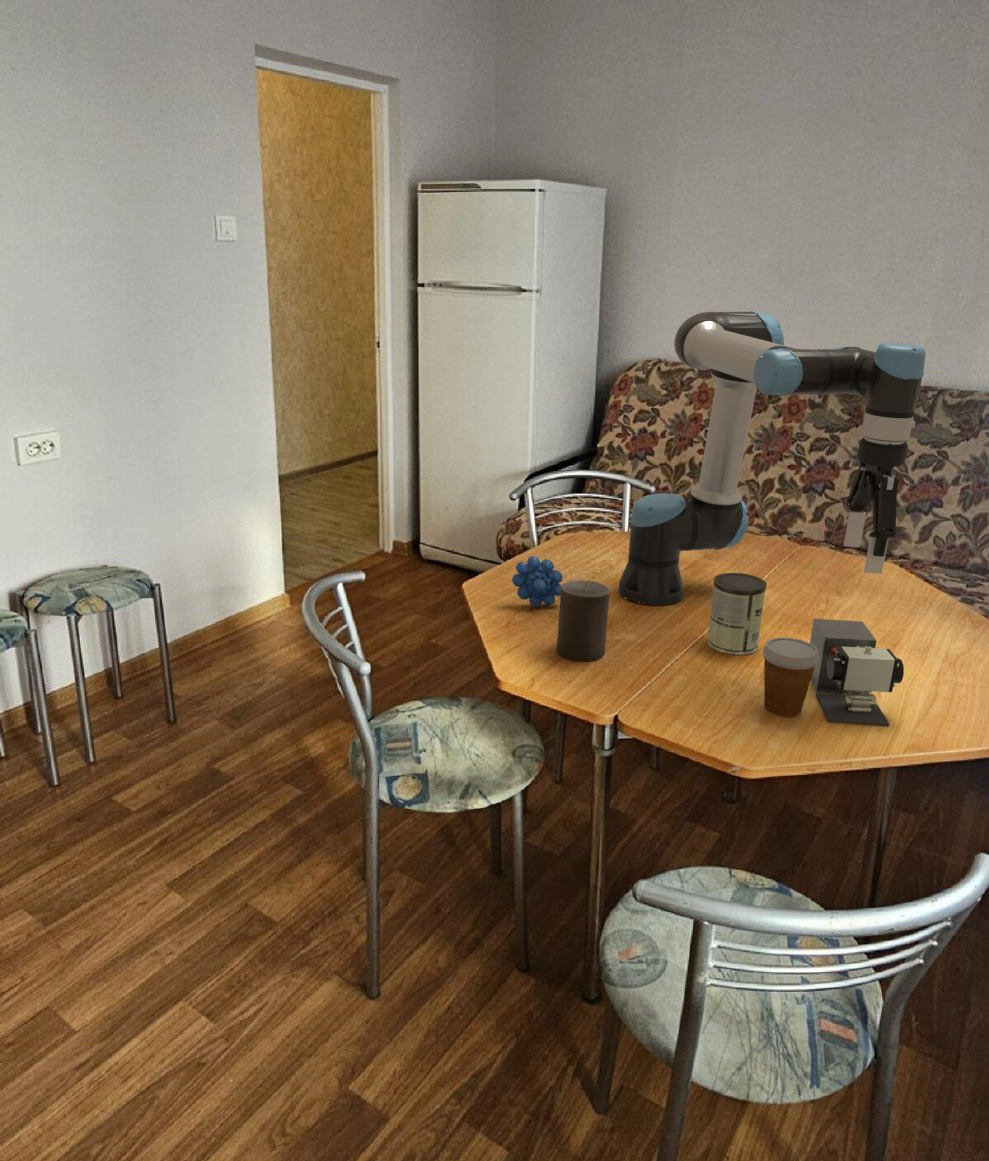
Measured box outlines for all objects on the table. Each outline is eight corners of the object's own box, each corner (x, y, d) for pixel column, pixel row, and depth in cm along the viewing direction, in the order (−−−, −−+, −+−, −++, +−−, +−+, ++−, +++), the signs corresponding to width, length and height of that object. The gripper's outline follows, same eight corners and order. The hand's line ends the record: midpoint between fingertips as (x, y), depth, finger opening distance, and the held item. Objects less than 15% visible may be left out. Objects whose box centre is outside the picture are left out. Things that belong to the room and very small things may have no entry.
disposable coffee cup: (747, 712, 159) (756, 650, 155) (763, 691, 167) (772, 632, 163) (802, 727, 155) (813, 664, 150) (816, 705, 162) (826, 644, 158)
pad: (829, 722, 157) (829, 719, 156) (815, 695, 166) (815, 692, 166) (888, 726, 156) (889, 723, 155) (871, 699, 165) (872, 696, 165)
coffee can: (709, 632, 193) (716, 569, 188) (759, 639, 190) (768, 576, 185) (703, 650, 183) (711, 585, 179) (756, 658, 180) (765, 593, 176)
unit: (817, 693, 167) (826, 638, 163) (805, 670, 176) (813, 618, 172) (867, 696, 166) (877, 642, 162) (852, 673, 175) (862, 620, 171)
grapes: (513, 614, 199) (515, 562, 195) (509, 602, 206) (511, 552, 201) (565, 613, 200) (568, 562, 196) (560, 602, 207) (563, 552, 203)
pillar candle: (575, 665, 175) (581, 593, 170) (546, 647, 183) (551, 577, 178) (614, 656, 180) (621, 585, 175) (585, 638, 188) (590, 570, 183)
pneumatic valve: (895, 717, 158) (908, 654, 153) (827, 713, 158) (838, 651, 154) (885, 702, 163) (896, 641, 159) (818, 698, 163) (829, 638, 159)
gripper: (933, 458, 139) (906, 586, 147) (885, 425, 162) (864, 537, 170) (883, 455, 140) (858, 583, 147) (842, 423, 163) (823, 535, 170)
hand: (861, 559), depth 159 cm, fingers open, 13 cm apart
